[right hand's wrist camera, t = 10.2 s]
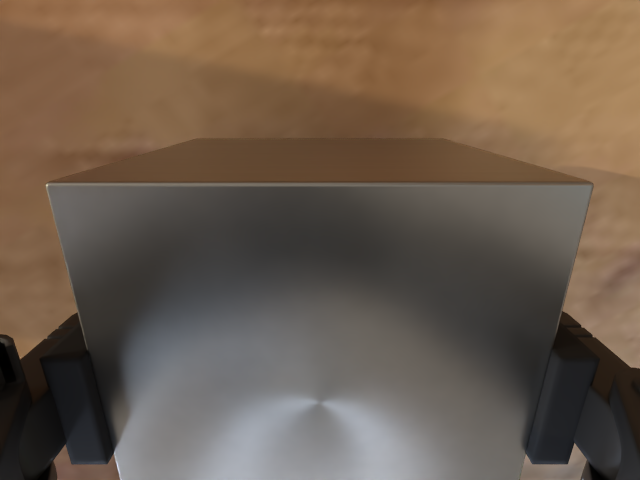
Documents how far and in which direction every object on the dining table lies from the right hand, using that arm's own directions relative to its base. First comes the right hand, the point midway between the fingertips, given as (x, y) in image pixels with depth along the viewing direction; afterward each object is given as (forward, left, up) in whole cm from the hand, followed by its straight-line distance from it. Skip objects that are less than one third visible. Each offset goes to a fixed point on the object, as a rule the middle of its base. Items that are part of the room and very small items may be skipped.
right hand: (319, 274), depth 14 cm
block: (0, 0, -2) cm, 2 cm away
